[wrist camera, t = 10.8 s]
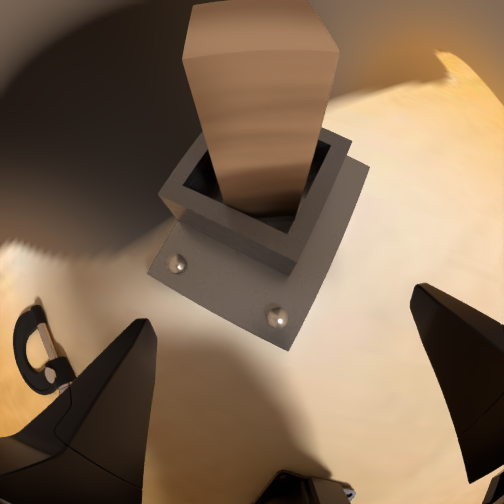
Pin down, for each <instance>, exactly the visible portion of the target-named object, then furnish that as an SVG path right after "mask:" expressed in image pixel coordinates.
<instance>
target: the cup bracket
mask: <svg viewBox="0 0 504 504" xmlns="http://www.w3.org/2000/svg"><path fill="white" fill-rule="evenodd" d="M351 143H352V141H351V140H349V139H347V138H344V137H342V136H340V135H338V134H336V133H334V132H331V131H329V130H327V129H324V128H322V127H321V130H320V134H319V137H318V141H317V145H316V148H315V152H314V156H313V159H312V163H311V166H310V170H309V173H308V177H307V180H306V184H305V187H304V191H303V194H302V198H301V201H300V204H299V208H298V211H297V214H296V218H295V220H294V221H290V222H277V223H265V224H264V223H262V222H260V221H258V220H256V219H254V218H252V217H250V216H248V215H246V214H243V213H241V212H239V211H237V210H235V209H233V208H231V207H228V206H226V205H225V204H224V200H223V197H222V194H221V190H220V187H219V184H218V181H217V177H216V174H215V171H214V167H213V164H212V160H211V157H210V154H209V150H208V147H207V144H206V140H205V137H204V133H203V131H202V133H201V134H200V135H199V136H198V138H197V139H196V140H195V142H194V143H193V144H192V146H191V147H190V148H189V150H188V151H187V153H186V154H185V155H184V157H183V158H182V159H181V161H180V162H179V163H178V165H177V166H176V168H175V169H174V171H173V172H172V173H171V175H170V176H169V178H168V179H167V181H166V182H165V184H164V185H163V187H162V188H161V190H160V191H159V193H158V195H159V197H160V198H161V199H162V201H163V202H164V203H165V205H166V206H167V207H168V209H169V210H170V211H171V212H172V214H173V215H174V216H175V218H176V219H177V220H178V221H177V223H176V225H175V226H174V228H173V230H172V231H171V233H170V235H169V236H168V238H167V240H166V241H165V243H164V245H163V247H162V248H161V250H160V252H159V254H158V255H157V257H156V259H155V261H154V262H153V264H152V266H151V268H150V270H149V271H148V273H147V274H148V275H150V276H152V277H153V278H155V279H157V280H158V281H160V282H161V283H163V284H165V285H166V286H168V287H170V288H171V289H173V290H175V291H176V292H178V293H180V294H181V295H183V296H185V297H187V298H188V299H190V300H192V301H194V302H195V303H197V304H199V305H201V306H202V307H204V308H206V309H208V310H209V311H211V312H213V313H215V314H217V315H218V316H220V317H222V318H224V319H226V320H228V321H229V322H231V323H233V324H235V325H237V326H239V327H241V328H243V329H245V330H246V331H248V332H250V333H252V334H254V335H256V336H258V337H260V338H262V339H264V340H266V341H268V342H270V343H272V344H274V345H276V346H278V347H280V348H282V349H284V350H286V351H289V349H290V348H291V346H292V344H293V342H294V340H295V338H296V336H297V334H298V332H299V330H300V328H301V326H302V324H303V322H304V320H305V318H306V316H307V314H308V312H309V310H310V308H311V306H312V304H313V302H314V300H315V298H316V296H317V294H318V292H319V289H320V287H321V285H322V283H323V281H324V279H325V277H326V274H327V272H328V270H329V268H330V265H331V263H332V261H333V259H334V256H335V254H336V252H337V250H338V247H339V245H340V243H341V240H342V238H343V235H344V233H345V231H346V228H347V226H348V223H349V221H350V218H351V216H352V213H353V211H354V208H355V206H356V203H357V201H358V198H359V195H360V193H361V190H362V187H363V185H364V182H365V179H366V177H367V174H368V171H369V168H370V167H369V166H367V165H365V164H363V163H361V162H359V161H357V160H355V159H353V158H351V157H349V156H347V153H348V150H349V148H350V146H351Z"/></svg>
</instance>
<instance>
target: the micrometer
mask: <svg viewBox="0 0 504 504" xmlns="http://www.w3.org/2000/svg"><path fill="white" fill-rule="evenodd" d="M37 328H38V330H39V333H40V336H41V338H42V341H43V344H44V346H45V349H46V351H47V354H48V356H49V359H50V361H48V362H47V363H46V364H45V366H46V368H45V369H44V370H43V371H41V372H40V373H39V372H37V371H35V370H34V369H33V368H32V367H31V365H30V364H29V362H28V359H27V355H26V343H27V340H28V338H29V336H30V335H31V334H32V333H33V332H34V331H35V330H36V329H37ZM13 349H14V355H15V360H16V363H17V366H18V369H19V371H20V373H21V375H22V377H23V379H24V380H25V382H26V383H27V384H28V386H29V387H30V388H31V389H32V390H33V391H35V392H36V393H38V394H41V395H48V394H51V393H53V392H55V391H56V389H59V395H60V394H61V393H62V392H63V391H64V390H65V389H66V388H67V387H68V386H70V384H71V383H72V382H73V381H74V380H75V379H76V378H75V376H74V374H73V372H72V370H71V368H70V365H69V363H68V361H67V359H66V357H58V355H57V353H56V350H55V348H54V345H53V343H52V340H51V338H50V335H49V332H48V330H47V327H46V321H45V318H44V315H43V312H42V309H41V306H40V305H35V306H33V307H32V308H31V311H27V312H25V313H23V314H22V315H21V316H20V317H19V318H18V320H17V322H16V325H15V328H14V333H13Z"/></svg>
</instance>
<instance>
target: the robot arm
mask: <svg viewBox="0 0 504 504" xmlns="http://www.w3.org/2000/svg"><path fill="white" fill-rule="evenodd" d="M410 310H411V312H412V315H413V318H414V321H415V323H416V326H417V329H418V332H419V335H420V338H421V341H422V344H423V346H424V348H425V351H426V353H427V355H428V358H429V360H430V362H431V365H432V367H433V370H434V372H435V375H436V377H437V380H438V382H439V385H440V387H441V390H442V393H443V395H444V398H445V401H446V404H447V407H448V409H449V412H450V415H451V418H452V421H453V425H454V428H455V431H456V434H457V438H458V442H459V445H460V449H461V452H462V456H463V460H464V464H465V469H466V473H467V478H468V482H469V484H471V483H473V482H475V481H476V480H478V479H480V478H482V477H484V476H486V475H487V474H489V473H491V472H492V471H494V470H496V469H497V468H499V467H501V466H502V465H504V325H503V324H500V323H499V322H497V321H496V320H494V319H492V318H490V317H489V316H487V315H485V314H483V313H482V312H480V311H478V310H476V309H474V308H473V307H471V306H469V305H467V304H465V303H463V302H462V301H460V300H458V299H456V298H454V297H452V296H451V295H449V294H447V293H445V292H443V291H441V290H439V289H437V288H435V287H433V286H431V285H430V284H428V283H420V284H417V285H416V286H415V287H414V290H413V294H412V297H411V300H410ZM156 353H157V337H156V334H155V332H154V329H153V327H152V325H151V323H150V321H149V320H148V319H147V318H139V319H136V320H134V321H133V322H132V323H131V324H130V325H129V326H128V327H127V328H126V329H125V330H124V331H123V332H122V333H121V334H120V335H119V336H118V337H117V338H116V339H115V340H114V341H113V342H112V343H111V344H110V345H109V346H108V347H107V348H106V349H105V350H104V351H103V352H102V353H101V354H100V355H99V356H98V357H97V358H96V359H95V360H94V361H93V362H92V363H91V364H90V365H89V366H88V367H87V368H86V369H85V370H84V371H83V372H82V373H81V374H80V375H79V376H78V377H77V378H76V379H75V380H74V381H73V382H72V383H71V384H70V386H68V387H67V388H66V389H65V390H64V391H63V392H62V393H61V394H60V395H59V396H58V397H57V398H56V399H55V400H54V401H53V402H52V403H51V404H50V405H49V406H48V407H47V408H46V409H45V410H44V411H42V412H41V413H40V414H39V415H38V416H37V417H36V418H34V419H33V420H32V421H31V422H30V423H29V424H28V425H27V426H25V427H24V428H23V429H22V430H21V431H19V432H18V433H16V434H14V435H11V436H8V437H0V504H142V487H143V473H144V462H145V452H146V443H147V434H148V426H149V418H150V411H151V404H152V397H153V391H154V384H155V370H156ZM282 475H285V476H286V477H285V478H281V477H280V476H282ZM348 493H350V494H349V495H347V494H348ZM355 495H356V492H355V491H354V489H352V488H349V487H344V486H341V484H340V483H336V482H332V481H328V480H324V479H320V478H317V477H313V476H310V477H306V476H302V475H299V474H296V473H293V472H290V471H287V470H280V471H278V472H277V473H276V474H275V476H274V477H273V478H272V479H271V481H270V482H269V483H268V485H267V486H266V487H265V488H264V490H263V491H262V492H261V493H260V495H259V496H258V497H257V498H256V499H255V501H254V502H253V503H252V504H351V503H350V501H351V500H352V499H353V498H354V496H355ZM482 504H504V470H502V471H501V472H500V473H498V474H497V475H496V476H495V477H493V478H492V480H491V482H490V485H489V488H488V490H487V493H486V495H485V498H484V500H483V502H482Z"/></svg>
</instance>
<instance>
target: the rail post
mask: <svg viewBox="0 0 504 504" xmlns="http://www.w3.org/2000/svg"><path fill="white" fill-rule="evenodd" d="M339 54H340V51H339V49H338V48H337V46H336V44H335V42H334V41H333V39H332V37H331V36H330V34H329V32H328V31H327V29H326V28H325V26H324V24H323V23H322V21H321V20H320V18H319V17H318V15H317V14H316V12H315V11H314V9H313V8H312V6H311V5H310V4H309V2H308V1H307V0H230V1H220V2H212V3H205V4H199V5H194V6H193V9H192V14H191V18H190V22H189V27H188V32H187V37H186V42H185V47H184V53H183V58H182V60H183V64H184V68H185V71H186V75H187V78H188V82H189V85H190V89H191V92H192V95H193V99H194V102H195V106H196V109H197V113H198V116H199V120H200V123H201V127H202V130H203V133H204V137H205V140H206V144H207V147H208V150H209V154H210V157H211V160H212V164H213V167H214V171H215V174H216V177H217V181H218V184H219V187H220V190H221V194H222V197H223V200H224V204H225V205H226V206H228V207H231V208H233V209H235V210H237V211H239V212H241V213H243V214H246V215H248V216H250V217H252V218H254V219H256V220H258V221H260V222H262V223H264V224H265V223H277V222H290V221H294V220H295V218H296V214H297V211H298V208H299V204H300V201H301V198H302V194H303V191H304V187H305V184H306V180H307V177H308V173H309V170H310V166H311V163H312V159H313V156H314V152H315V148H316V145H317V141H318V137H319V134H320V130H321V126H322V122H323V119H324V115H325V111H326V107H327V103H328V99H329V95H330V91H331V87H332V83H333V79H334V75H335V71H336V67H337V63H338V59H339Z"/></svg>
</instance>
